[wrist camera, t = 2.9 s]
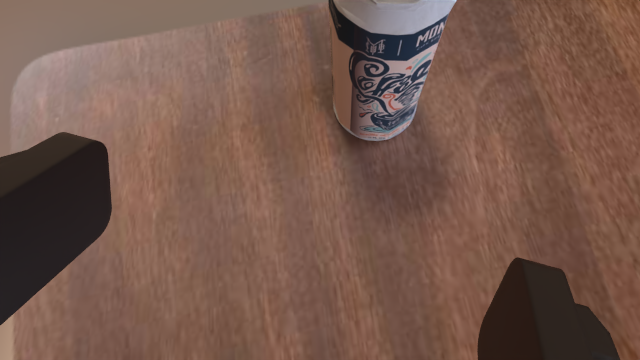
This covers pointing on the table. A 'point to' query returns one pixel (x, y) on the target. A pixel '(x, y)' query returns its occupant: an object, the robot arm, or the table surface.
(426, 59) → the beer can
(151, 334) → the table surface
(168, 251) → the table surface
